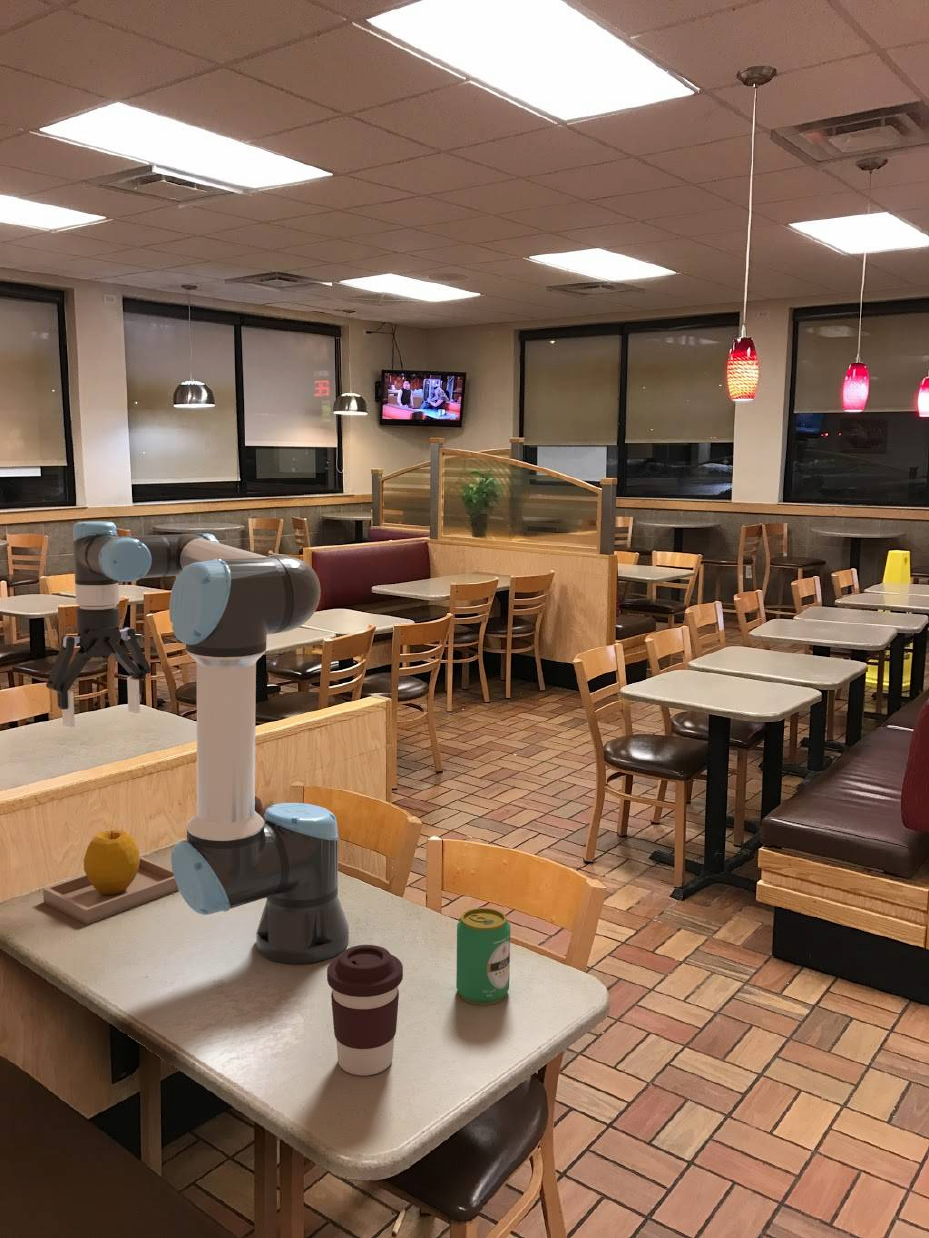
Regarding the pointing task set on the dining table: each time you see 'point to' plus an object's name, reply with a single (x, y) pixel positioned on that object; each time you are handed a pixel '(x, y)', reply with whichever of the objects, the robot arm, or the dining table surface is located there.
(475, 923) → the beverage can
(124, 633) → the robot arm
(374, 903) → the dining table surface
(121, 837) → the apple
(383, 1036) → the coffee cup
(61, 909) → the tray
